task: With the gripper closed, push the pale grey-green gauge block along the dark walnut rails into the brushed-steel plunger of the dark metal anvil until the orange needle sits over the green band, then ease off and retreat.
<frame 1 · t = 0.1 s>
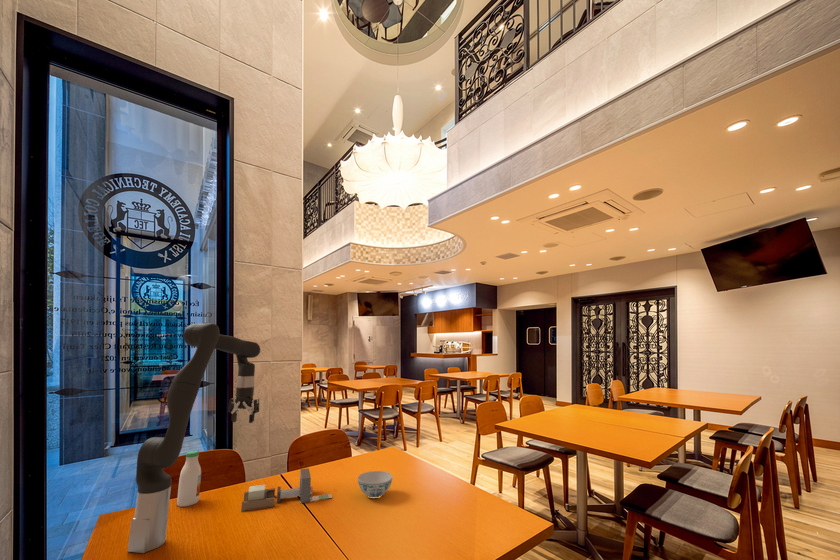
hand: (242, 422, 169), 29 cm above the table, fingers open, 8 cm apart
plunger: (295, 493, 156), point 2 cm above the table, slide at 0.0 cm
gauge block: (255, 503, 151), on the table
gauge: (274, 500, 154), on the table
milk bottle: (187, 503, 151), on the table
chinaware: (374, 496, 159), on the table
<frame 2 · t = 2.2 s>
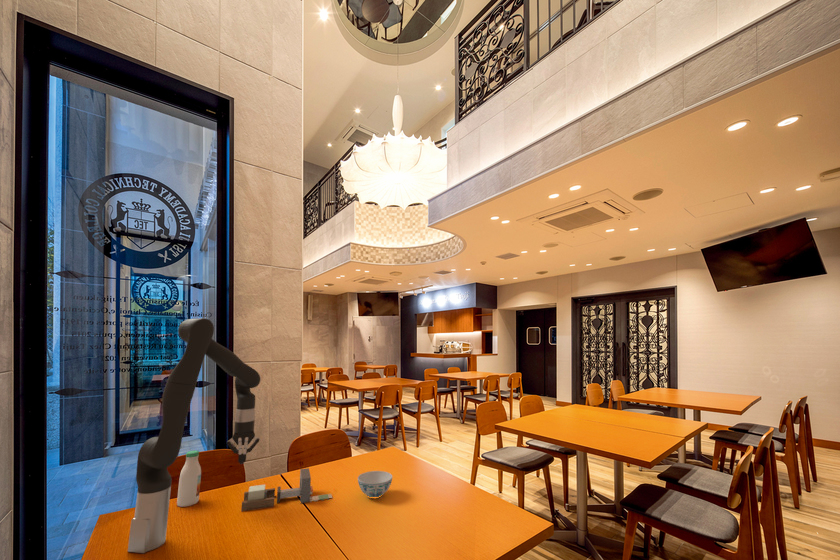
hand: (241, 463, 152), 16 cm above the table, fingers closed
nothing on the table moved.
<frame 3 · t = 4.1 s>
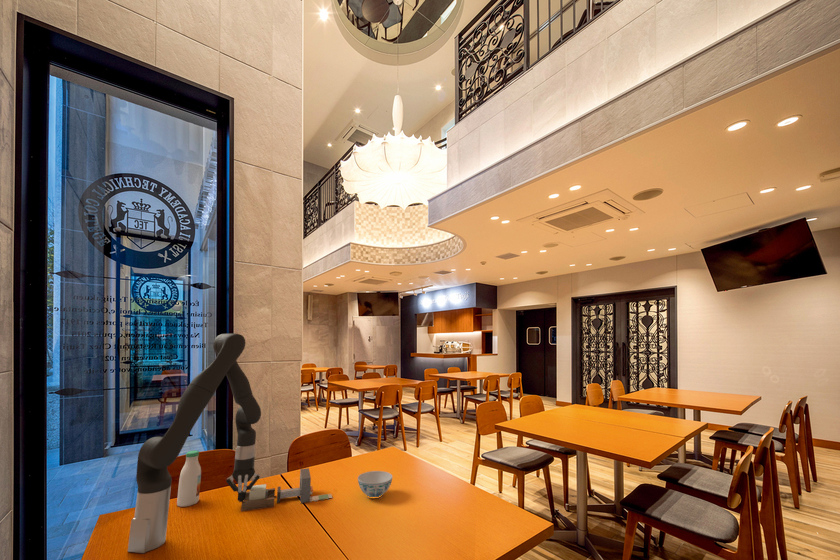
hand: (241, 501, 150), 2 cm above the table, fingers closed
gauge block: (257, 503, 151), on the table, touching gripper
everything else where it was.
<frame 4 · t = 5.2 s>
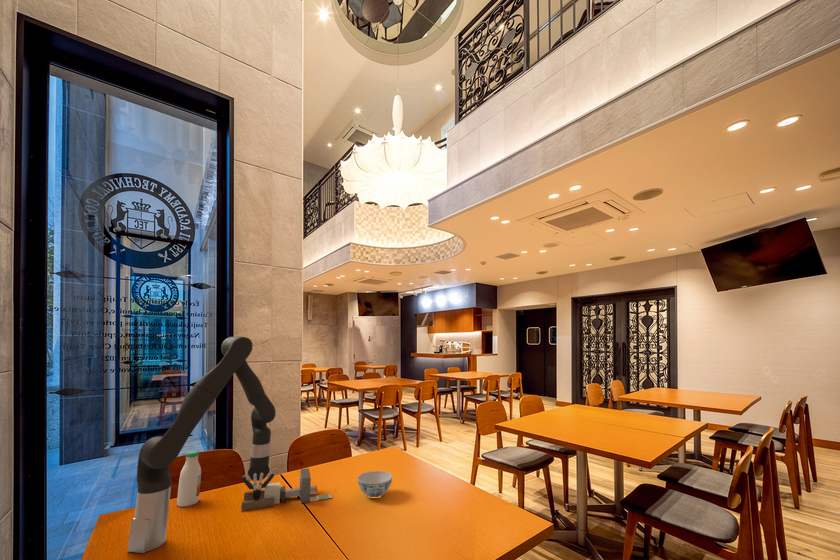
hand: (256, 499, 152), 2 cm above the table, fingers closed
plunger: (299, 492, 156), point 2 cm above the table, slide at 1.9 cm, touching gauge block
gauge block: (271, 501, 153), on the table, touching gripper, plunger
everything else where it was.
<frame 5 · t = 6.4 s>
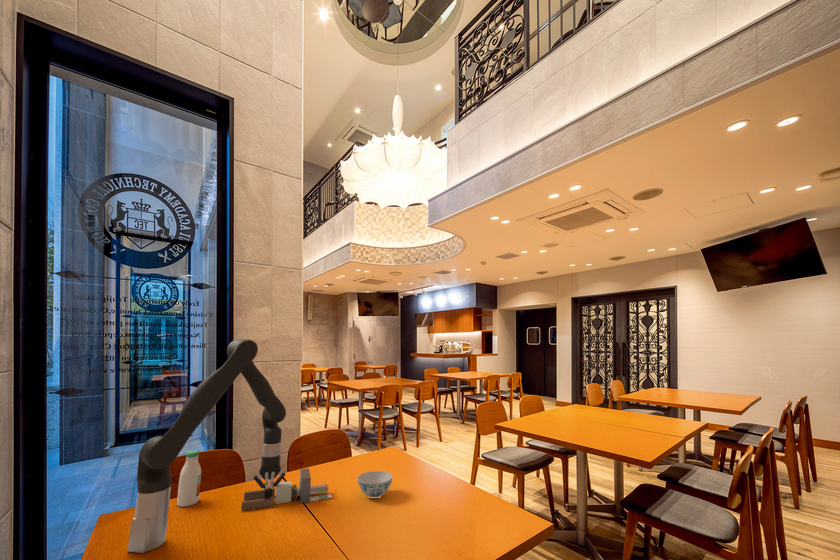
hand: (268, 497, 153), 2 cm above the table, fingers closed
plunger: (310, 491, 158), point 2 cm above the table, slide at 6.4 cm, touching gauge block
gauge block: (283, 499, 155), on the table, touching gripper, plunger
everything else where it was.
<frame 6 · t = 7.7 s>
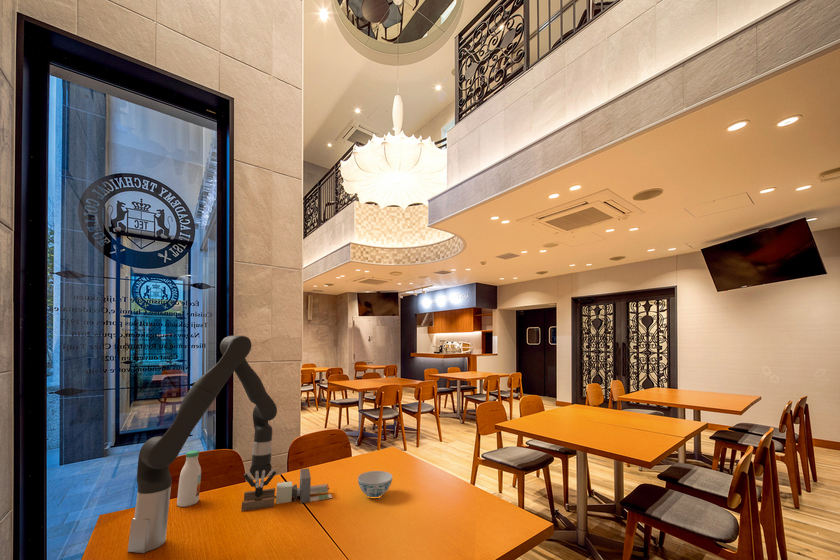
hand: (258, 496, 152), 3 cm above the table, fingers closed
plunger: (311, 491, 158), point 2 cm above the table, slide at 6.6 cm
gauge block: (283, 500, 155), on the table
everything else where it was.
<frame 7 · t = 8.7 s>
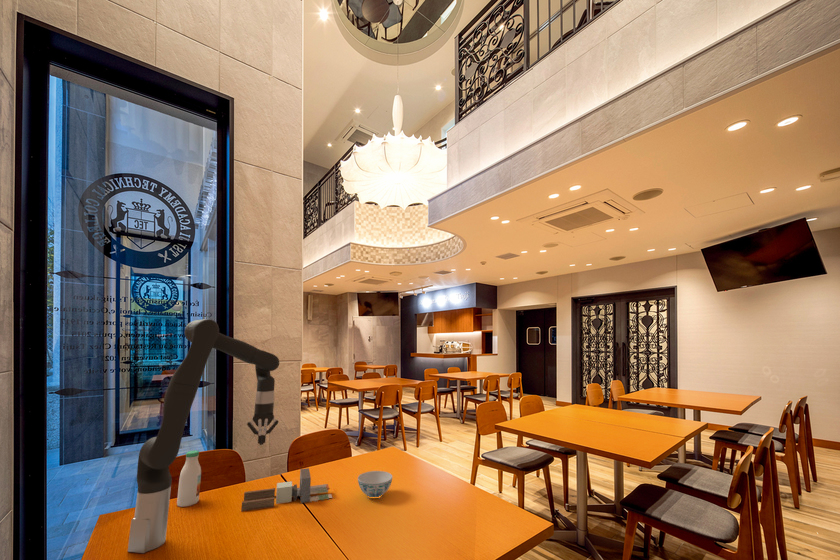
hand: (261, 444, 155), 23 cm above the table, fingers closed
nothing on the table moved.
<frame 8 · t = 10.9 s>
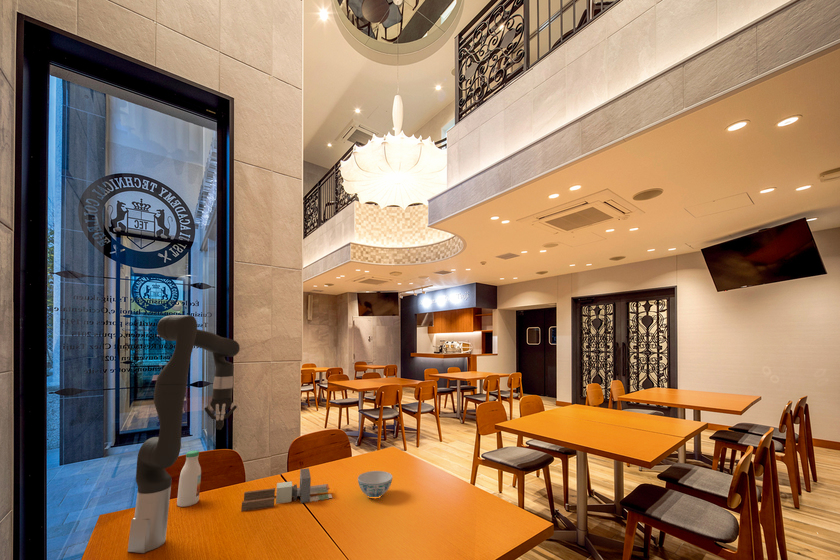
hand: (219, 429, 156), 29 cm above the table, fingers closed
nothing on the table moved.
at the end: plunger slide at 6.6 cm; gauge block tilted 0°; gauge block moved 10.7 cm from its start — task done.
